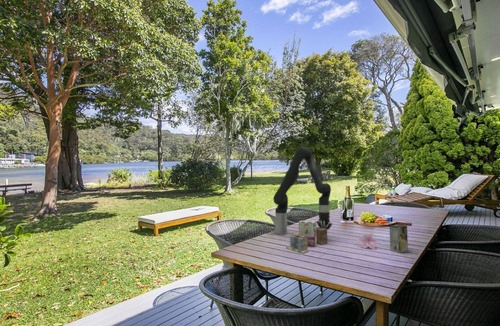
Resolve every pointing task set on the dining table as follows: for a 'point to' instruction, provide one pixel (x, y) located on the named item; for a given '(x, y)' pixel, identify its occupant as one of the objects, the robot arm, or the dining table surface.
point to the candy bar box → (308, 232)
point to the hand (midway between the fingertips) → (324, 235)
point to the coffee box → (398, 238)
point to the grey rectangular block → (298, 243)
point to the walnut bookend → (321, 236)
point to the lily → (368, 240)
